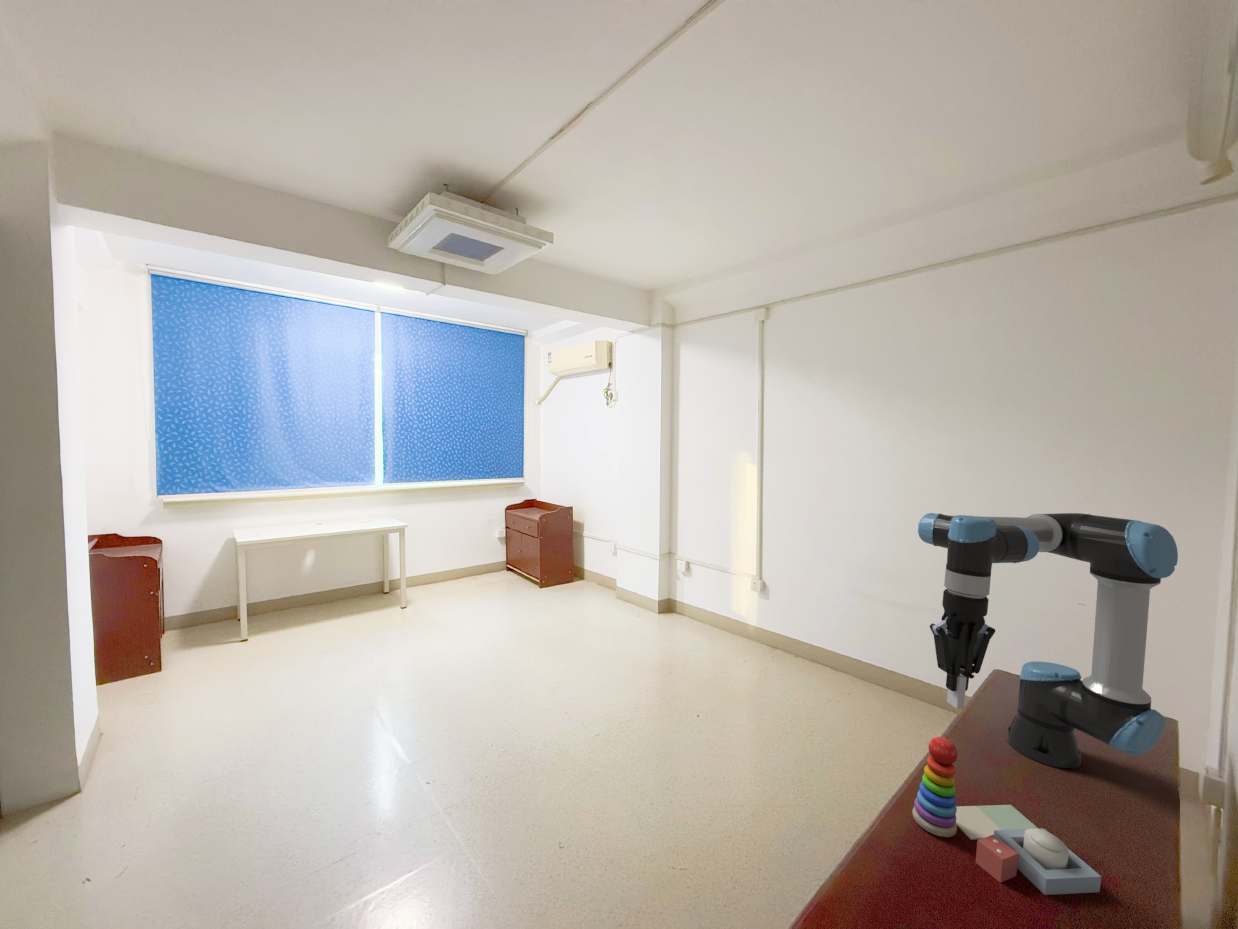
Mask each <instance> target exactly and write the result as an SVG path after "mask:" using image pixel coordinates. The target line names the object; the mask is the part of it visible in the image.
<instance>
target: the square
mask: <svg viewBox="0 0 1238 929" xmlns="http://www.w3.org/2000/svg"><path fill="white" fill-rule="evenodd" d="M976 806H977V805H963V806H961V805H959V806H958V805H956V808H957V811H956V825H957V828H959V830H960V831H961V832H963V833H964V835H965V836H966V837H968V839H969V840H970V841H972V840H973V841H975V840H977V841H978V840H980V839H983V838H985V837H988V836H991V835H994V830H1001V829H1000V828H999V827H998V826H997V825H996V824H995V823H994V822H992V821H991V820H990V819H989V818H988V817H987V816H986V815H985V814H984V813H983V812H982V811H981V810H979V809H978V808H977V807H976Z"/></svg>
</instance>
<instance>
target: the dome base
mask: <svg viewBox="0 0 1238 929" xmlns="http://www.w3.org/2000/svg"><path fill="white" fill-rule="evenodd" d="M1037 828H1038V829H1040V830H1044V831H1046V832H1049V831H1048V830H1047V829H1045V828H1043V827H1042V828H1041V827H1040V828H1039V827H1037ZM1025 830H1026V829H1012V830H994V836H996V837H997V838H999V839H1000V840H1001V841H1003V842H1004V843H1005V844H1007V845H1008V846H1009V847H1011V848H1012V849H1014V850H1015V851H1016V852H1018V853H1019V855H1018V865H1017V870H1018V871H1020V873H1022V875H1023V876H1024V877H1026V878H1027V879H1028V880H1029V881H1030V883H1031V884H1033V886H1035V888H1037V889H1038V890H1039V891H1040V892H1041V893H1042V894H1043V895H1044V896H1050V895H1052V896H1053V895H1054V896H1055V895H1069V894H1073V895H1074V894H1087V893H1091V894H1092V893H1100V892H1101V884H1102V883H1101V882H1102V876H1101V875H1100V874H1099V873H1098V872H1097V871H1095V870H1094V869H1093V868H1092V867H1091V866H1090V865H1088V864H1087V863H1086V862H1085V861H1083V860H1082V859H1081V858H1080V857H1079V856H1077V854H1075V853H1074V852H1073V851H1072V850H1071V849H1069V848H1068V851H1069V853H1068V863H1067V869H1056V870H1045V869H1044V868H1043V867H1042V866H1041V865H1040V864H1039V863H1038V862H1037V861H1036V860H1035V859H1033V858H1032V857H1031V856H1030V855H1029V854H1028V853H1027V852H1026V851H1025V850H1024V849H1023V843H1024V833H1025Z"/></svg>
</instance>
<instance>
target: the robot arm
mask: <svg viewBox="0 0 1238 929" xmlns="http://www.w3.org/2000/svg"><path fill="white" fill-rule="evenodd" d="M917 534H918V536H919V538H920V539H921V541H923V542H924V543H926V544H929V545H931V546H934V547H941V548H945V549H947V556H946V564H945V573H944V574H945V575H944V585H943V586H944V587H945V589H944V590H943V593H942V603H941V604H942V608H943V611H944V612H943V614H942V616H941V618H940V619H941V620H940V622H938V623H936V624H935V623H930V625H929V628H930V630H931V633H932V634H933V639H934V647H935V656H936V661H937V663H936V664H937V667H938V668H939V669H940V670H941V671H943V672H945V673H946V678H945V679H946V680H945V681H946V682H945V688H947V692H946V693H947V695H946V703H948V704H949V705H951V706H952V707H953V708H955V709H956V710H961V709H962V710H963V709H965V708H964V707H965V698H966V692H967V691H968V689H969V683H970V682H969V681H970V679H974V678H975V675H974V674H976V675H977V674H979V673H980V672H981V669H982V668H981V667H982V665H983V662H984V659H985V656H986V653H987V650H988V646H989V643H990V641H991V639H992V638H993V636H994V634H995V633H996V629H995V628H993V627H992V626H989V625H988V624H986V619H985V617H986V616H987V615H988V609H989V601H990V600H989V598H988V597H987V596H989V595H990V590H991V589H990V588H991V576H992V568H993V567H992V566H993V564H1010V563H1011V564H1017V563H1022V562H1023V563H1024V562H1029V561H1031V560H1033V559H1034V558H1035V557H1036V556H1037V555H1038V553H1050V554H1054V555H1059V556H1061V557H1065V558H1070V559H1073V560H1077V561H1081V562H1086V563H1089V574H1090V575H1091V576H1092V577H1093V578H1094V579H1096V580H1097V589H1096V591H1097V592H1096V601H1095V602H1096V603H1095V604H1096V605H1095V617H1094V631H1093V646H1092V647H1093V648H1092V650H1093V651H1092V659H1091V660H1092V663H1091V674H1090V675H1089V676H1087V677H1084V678H1083V679H1082V676H1081V673H1080V672H1079V671H1078V670H1077V669H1075V668H1072V667H1071V666H1067V665H1063V664H1059V663H1055V662H1050V661H1049V662H1047V661H1028V662H1026V663H1024V664H1023V665H1022V666H1021V672H1020V675H1019V679H1020V680H1019V688H1018V700H1017V710H1016V714H1015V716H1014V718H1013V719H1012V721H1011V723H1010V724H1009V726H1008V727H1007V730H1006V737H1005V738H1006V741H1007V743H1008V744H1009V745H1010V746H1011V747H1012V748H1013V749H1014V750H1015V751H1017V752H1019V753H1021V755H1024V756H1025V757H1027V758H1029V759H1032V760H1034V761H1036V762H1038V763H1040V764H1044V765H1047V766H1051V767H1055V768H1060V769H1066V768H1072V769H1077V768H1080V766H1081V763H1082V753H1081V750H1080V748H1079V744H1078V739H1077V736H1076V731H1075V729H1076V730H1077V731H1079V732H1082V733H1084V734H1085V735H1088V736H1090V737H1092V738H1094V739H1095V740H1098V741H1100V742H1102V743H1103V744H1106V745H1108V746H1109V747H1111V748H1113V749H1117V750H1119V751H1121V752H1123V753H1125V754H1128V755H1131V756H1142V755H1145V754H1146V753H1148V752H1149V751H1151V750H1152V749H1153V747H1154V746H1155V745H1157V743H1158V742H1159V740H1160V739H1161V736H1162V733H1163V732H1164V727H1165V719H1164V717H1163V715H1162V713H1160V712H1159V711H1157V709H1152V697H1151V695H1150V694H1149V693H1148V692H1147V691H1146V690H1144V688H1143V686H1144V685H1143V684H1144V672H1145V661H1146V659H1145V658H1146V646H1147V635H1148V634H1147V632H1148V620H1149V607H1150V598H1151V597H1150V594H1151V589H1153V588H1155V587H1157V586H1158V585H1160V584H1161V582H1162V579H1165V578H1168V577H1171V575H1173V573H1174V572H1175V570H1176V568H1175V567H1176V566H1177V565H1178V556H1179V555H1178V554H1179V553H1178V546H1177V542H1176V541H1175V538H1174V537H1173V535H1172V534H1171V533H1170V532H1169V530H1168V529H1167V528H1165V527H1164V526H1161V525H1159V524H1155V523H1151V522H1145V521H1141V520H1136V519H1135V520H1134V519H1127V518H1120V517H1112V516H1105V515H1103V516H1102V515H1093V514H1089V513H1088V514H1087V513H1080V512H1078V513H1077V512H1075V513H1074V512H1072V513H1071V512H1068V513H1064V512H1063V513H1033V514H1030V515H1028V516H1026V517H1022V516H1021V517H1019V516H1018V517H1016V516H1015V517H1014V516H1013V517H1012V516H1010V517H1009V516H978V515H977V516H976V515H967V514H966V515H965V514H963V515H962V514H958V515H947V514H943V513H934V512H930V513H926V514H924V515H923V516H922V517H921V518H920V519H919V522H918V527H917ZM1081 679H1082V680H1081Z"/></svg>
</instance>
